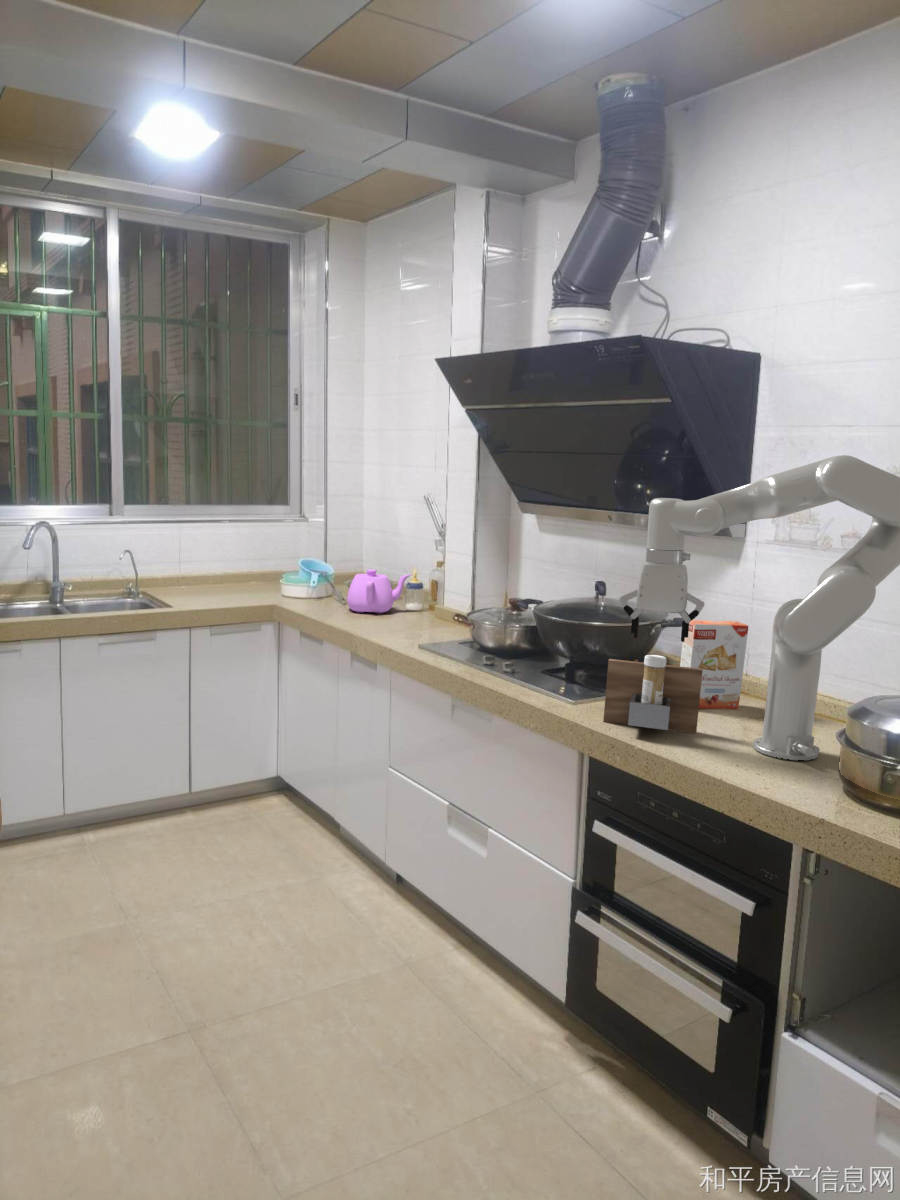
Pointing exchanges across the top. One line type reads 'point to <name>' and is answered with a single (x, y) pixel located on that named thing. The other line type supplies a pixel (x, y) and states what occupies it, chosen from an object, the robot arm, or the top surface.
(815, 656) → the robot arm
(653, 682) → the sprinkles bottle
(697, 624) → the cracker box
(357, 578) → the teapot
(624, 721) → the wall holder
